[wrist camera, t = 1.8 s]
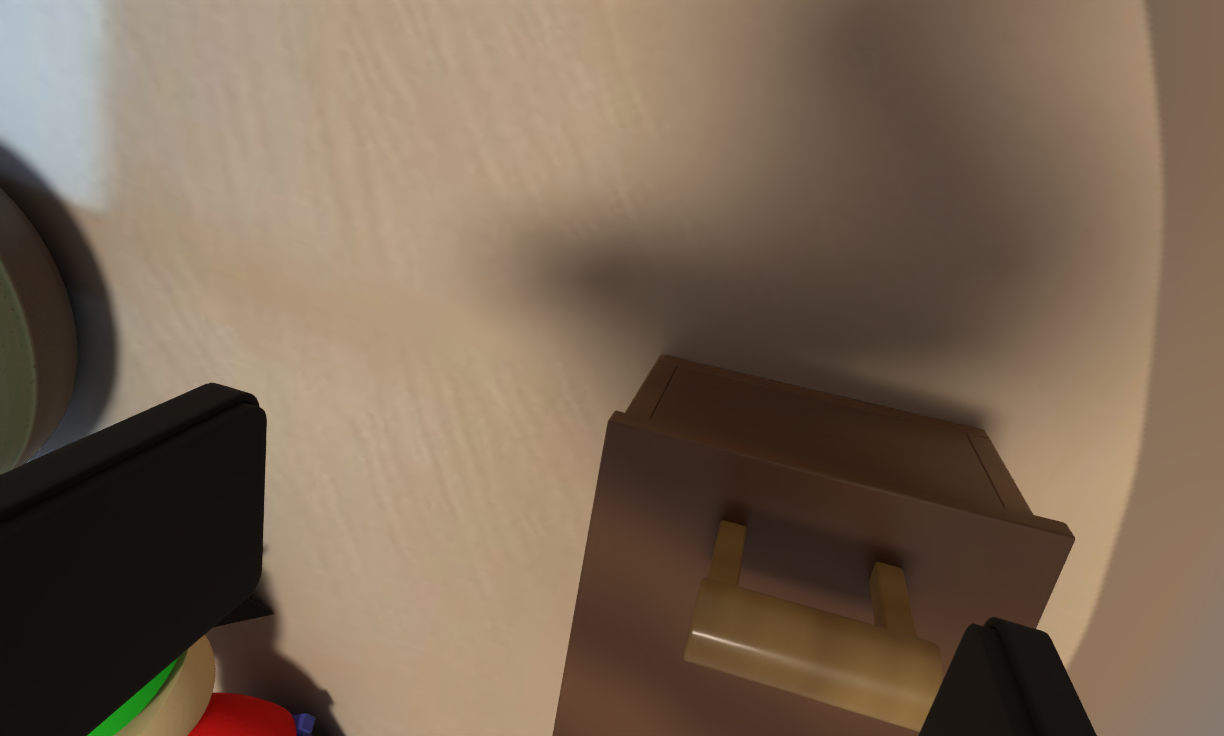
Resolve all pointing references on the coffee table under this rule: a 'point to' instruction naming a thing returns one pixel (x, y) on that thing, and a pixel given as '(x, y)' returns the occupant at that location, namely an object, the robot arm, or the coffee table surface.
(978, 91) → the coffee table surface
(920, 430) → the chest
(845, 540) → the lid
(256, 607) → the toy
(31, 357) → the vase
